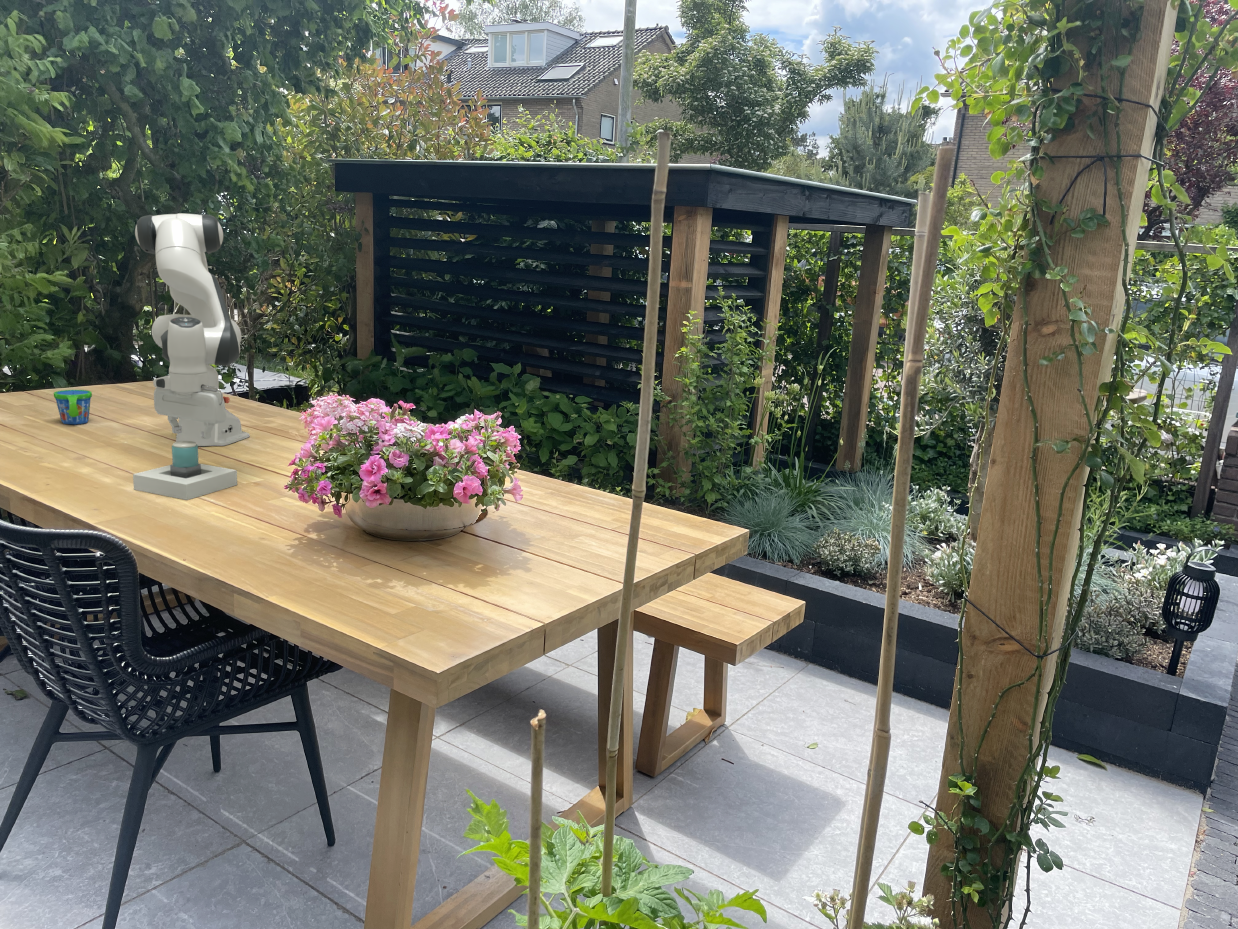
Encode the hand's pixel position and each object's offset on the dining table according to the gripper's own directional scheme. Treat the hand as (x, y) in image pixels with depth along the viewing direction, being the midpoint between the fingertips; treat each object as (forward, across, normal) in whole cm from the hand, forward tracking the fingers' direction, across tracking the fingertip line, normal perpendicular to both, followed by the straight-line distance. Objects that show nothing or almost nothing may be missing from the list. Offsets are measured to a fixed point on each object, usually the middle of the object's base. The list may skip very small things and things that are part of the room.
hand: (191, 435), depth 228 cm
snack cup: (+15, +83, -34) cm, 91 cm away
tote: (+13, 0, +3) cm, 13 cm away
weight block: (+12, 0, +3) cm, 12 cm away
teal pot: (+7, 0, +3) cm, 8 cm away
